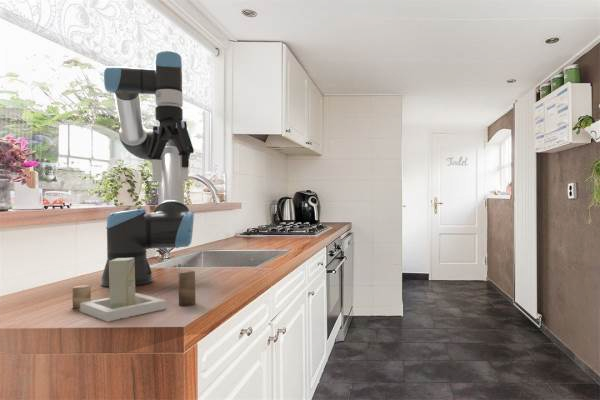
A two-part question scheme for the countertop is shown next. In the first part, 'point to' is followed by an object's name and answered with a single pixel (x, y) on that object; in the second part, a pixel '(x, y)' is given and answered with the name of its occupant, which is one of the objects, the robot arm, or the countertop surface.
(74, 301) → the short oak dowel
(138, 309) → the white square frame
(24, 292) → the countertop surface
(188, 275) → the mid walnut dowel
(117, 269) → the skincare box
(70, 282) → the countertop surface
